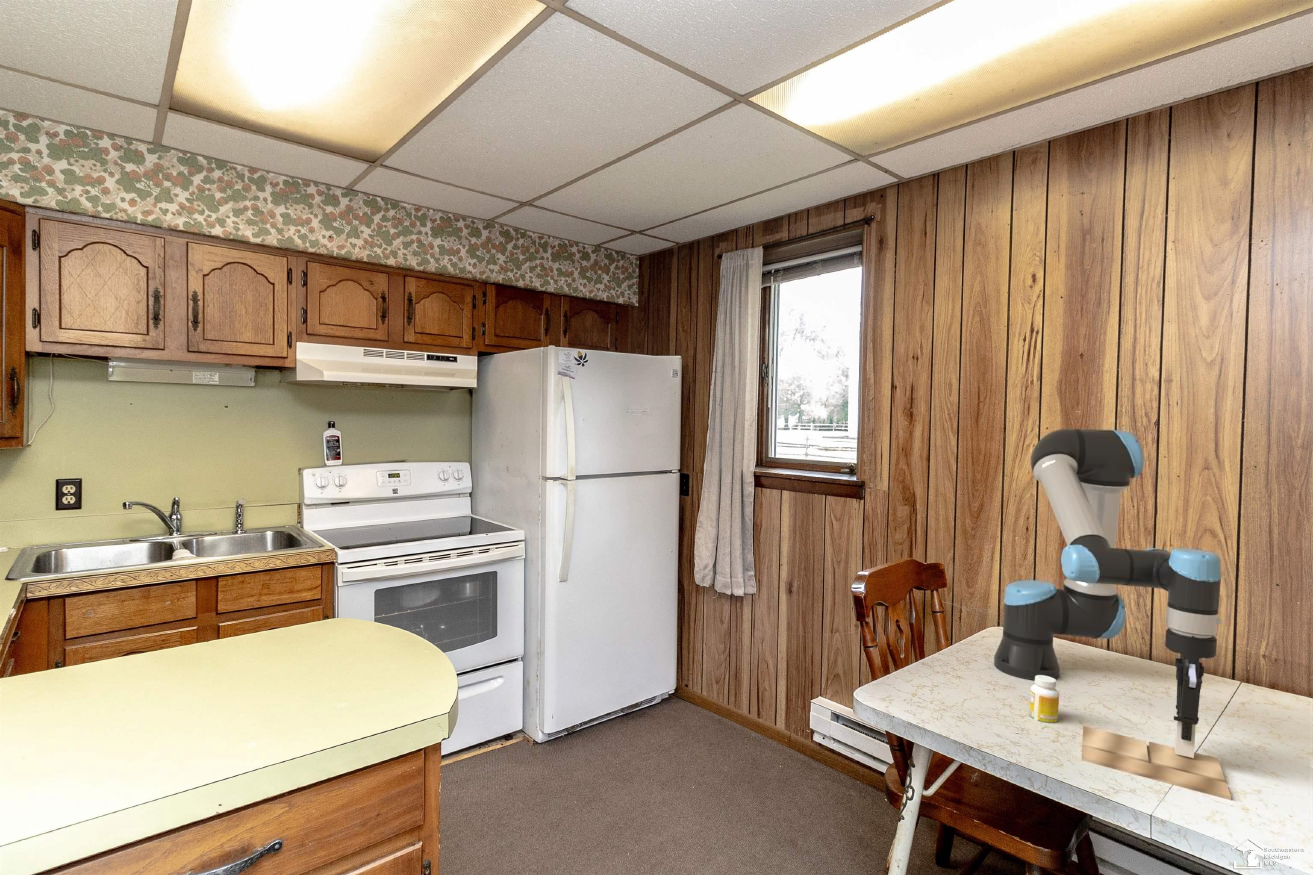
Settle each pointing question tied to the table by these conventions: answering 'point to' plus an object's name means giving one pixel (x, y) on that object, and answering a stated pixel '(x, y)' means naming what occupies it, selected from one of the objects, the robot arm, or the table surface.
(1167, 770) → the laid floorboard
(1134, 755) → the plank
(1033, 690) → the supplement bottle
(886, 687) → the table surface
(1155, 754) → the plank
